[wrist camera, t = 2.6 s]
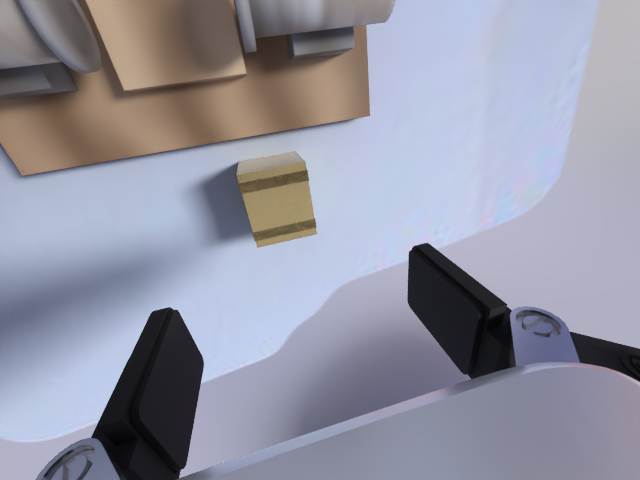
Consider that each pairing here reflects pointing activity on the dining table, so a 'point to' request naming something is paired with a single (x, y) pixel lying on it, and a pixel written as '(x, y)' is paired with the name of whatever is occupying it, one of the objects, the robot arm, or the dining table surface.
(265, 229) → the block
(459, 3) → the dining table surface
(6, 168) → the dining table surface
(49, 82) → the shaft jig
